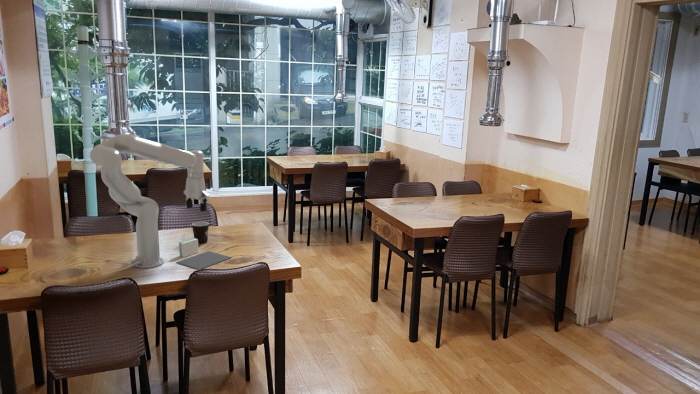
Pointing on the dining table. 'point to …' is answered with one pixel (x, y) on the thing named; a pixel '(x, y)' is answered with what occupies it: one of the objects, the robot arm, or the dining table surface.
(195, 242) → the card deck
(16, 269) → the dining table surface
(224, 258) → the mat
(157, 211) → the robot arm
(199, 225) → the coffee mug
